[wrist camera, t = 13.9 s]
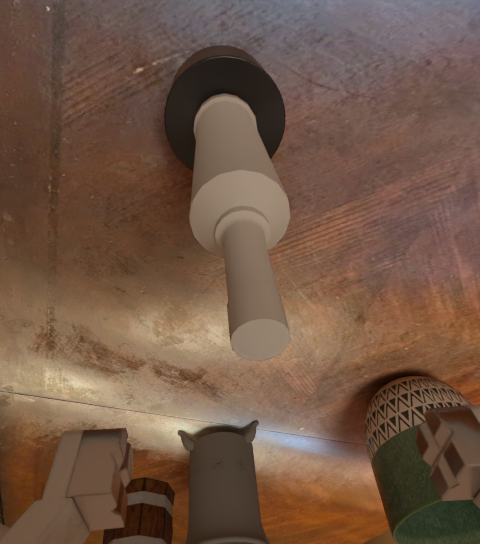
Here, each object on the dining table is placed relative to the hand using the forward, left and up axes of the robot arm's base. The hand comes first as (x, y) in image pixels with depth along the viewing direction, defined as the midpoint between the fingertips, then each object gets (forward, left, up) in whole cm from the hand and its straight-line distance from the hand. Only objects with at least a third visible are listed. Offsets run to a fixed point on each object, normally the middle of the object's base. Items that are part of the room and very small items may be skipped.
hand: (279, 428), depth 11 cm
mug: (+62, -57, -35) cm, 91 cm away
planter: (+57, +3, -35) cm, 67 cm away
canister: (0, 0, -35) cm, 35 cm away
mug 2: (+52, -30, -35) cm, 70 cm away
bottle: (0, 0, -28) cm, 28 cm away
